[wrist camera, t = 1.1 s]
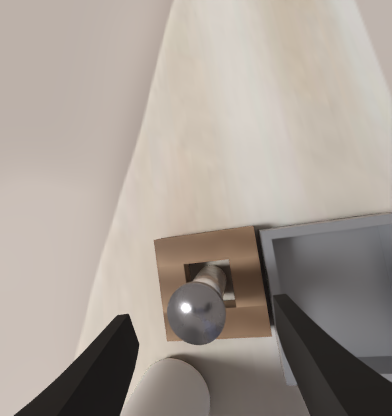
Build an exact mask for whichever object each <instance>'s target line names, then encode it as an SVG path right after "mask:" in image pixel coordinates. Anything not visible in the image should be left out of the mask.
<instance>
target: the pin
mask: <svg viewBox="0 0 392 416" xmlns="http://www.w3.org/2000/svg"><path fill="white" fill-rule="evenodd" d="M225 286H226V276H225V273H224V272H223V271H222V269H220V268H219V267H217V266H214V265H209V266H206V267H204V268H203V269H201V271H200V272H199V273H198V274H197V276H196V277H195V278H194V280H193V281H192V282H188V283H185V284H183V285H182V286H180V287H179V288H178V289H177V290H176V291H175V292H174V293H173V294H172V296H171V298H170V300H169V302H168V306H167V317H168V321H169V324H170V327H171V328H172V330H173V332H174V333H175V334H176V335H177V336H178V337H179V338H180V339H182V340H183V341H185V342H187V343H190V344H194V345H204V344H207V343H210V342H212V341H213V340H215V339H216V338H217V337H218V336H219V335H220V333H221V332H222V330H223V328H224V325H225V319H226V307H225V303H224V301H223V294H224V290H225Z"/></svg>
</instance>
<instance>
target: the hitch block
mask: <svg viewBox="0 0 392 416" xmlns="http://www.w3.org/2000/svg"><path fill="white" fill-rule="evenodd" d="M154 245H155V253H156V260H157V268H158V276H159V283H160V291H161V298H162V306H163V314H164V321H165V329H166V336H167V341H183V340H182V339H180V338H179V337H178V336H177V335H176V334H175V333H174V332H173V330H172V328H171V327H170V324H169V321H168V317H167V306H168V302H169V300H170V298H171V296H172V294H173V293H174V292H175V291H176V290H177V289H178V288H179V287H180V286H182V285H183V284H185V283H188V282H191V277H190V270H189V264H191V263H199V262H208V261H217V260H225V259H229V263H230V270H231V276H232V282H233V289H234V295H235V300H228V301H224V303H225V307H226V319H225V325H224V328H223V330H222V332H221V333H220V335H219V336H218V337H217V338H216V339H228V338H249V337H270V336H272V334H271V328H270V322H269V316H268V310H267V304H266V298H265V292H264V286H263V280H262V274H261V268H260V262H259V256H258V250H257V244H256V238H255V232H254V226H246V227H239V228H232V229H225V230H218V231H211V232H204V233H197V234H189V235H182V236H175V237H168V238H161V239H157V240H154Z"/></svg>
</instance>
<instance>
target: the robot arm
mask: <svg viewBox="0 0 392 416" xmlns="http://www.w3.org/2000/svg"><path fill="white" fill-rule="evenodd" d="M273 304H274V313H275V322H276V330H277V333H278V336H279V340H280V343H281V346H282V349H283V352H284V354H285V357H286V359H287V361H288V364H289V366H290V368H291V371H292V373H293V375H294V378H295V380H296V382H297V385H298V387H299V389H300V392H301V394H302V396H303V399H304V401H305V403H306V406H307V408H308V410H309V413H310V416H392V382H391V381H389V380H387V379H386V378H385V377H383V376H382V375H380V374H379V373H377V372H376V371H375V370H373V369H372V368H370V367H369V366H368V365H366V364H365V363H364V362H362V361H361V360H359V359H358V358H357V357H355V356H354V355H353V354H352V353H350V352H349V351H348V350H347V349H345V348H344V347H343V346H342V345H340V344H339V343H338V342H337V341H336V340H334V339H333V338H332V337H331V336H330V335H329V334H327V333H326V332H325V331H324V330H323V329H322V328H321V327H320V326H318V325H317V324H316V323H315V322H314V321H313V320H312V319H311V318H310V317H309V316H308V315H307V314H306V313H305V312H304V311H303V310H302V309H301V308H300V307H299V306H298V305H297V304H296V303H295V302H294V301H293V300H292V299H291V298H290V297H289V296H288V295H287V294H278V295H273ZM138 349H139V342H138V339H137V336H136V333H135V330H134V328H133V325H132V322H131V319H130V316H129V314H123V315H117V316H116V317H115V318H114V319H113V320H112V321H111V322H110V324H109V325H108V326H107V327H106V328H105V329H104V330H103V331H102V332H101V333H100V334H99V336H98V337H97V338H96V339H95V340H94V341H93V342H92V343H91V344H90V345H89V346H88V347H87V349H86V350H85V351H84V352H83V353H82V354H81V355H80V356H79V357H78V358H77V359H76V360H75V361H74V362H73V363H72V364H71V365H70V366H69V367H68V368H67V369H66V370H65V371H64V372H63V373H62V374H61V375H60V376H59V377H58V378H57V379H56V380H55V381H54V382H52V383H51V384H50V385H49V386H48V387H47V388H46V389H45V390H44V391H42V392H41V393H40V394H39V395H38V396H37V397H36V398H35V399H33V400H32V401H31V402H30V403H29V404H27V405H26V406H25V407H24V408H22V409H21V410H20V411H19V412H18V413H16V414H15V415H14V416H120V414H121V411H122V408H123V404H124V401H125V398H126V395H127V392H128V389H129V385H130V382H131V379H132V376H133V372H134V369H135V365H136V360H137V355H138Z"/></svg>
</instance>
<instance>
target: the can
mask: <svg viewBox="0 0 392 416" xmlns="http://www.w3.org/2000/svg"><path fill="white" fill-rule="evenodd" d="M209 413H210V394H209V391H208V387H207V384H206V382H205V381H204V379H203V377H202V376H201V374H200V373H199V372H198V371H197V370H196V369H195V368H194V367H193V366H192V365H190V364H188V363H186V362H184V361H182V360H179V359H172V358H168V359H162V360H159V361H157V362H155V363H154V364H152V365H151V366H150V367H149V368H148V369H147V371H146V372H145V373H144V375H143V376H142V378H141V380H140V381H139V383H138V384H137V386H136V388H135V389H134V391H133V392H132V394H131V396H130V397H129V399H128V400H127V402H126V404H125V405H124V407H123V408H122V411H121V414H120V416H209Z"/></svg>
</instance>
